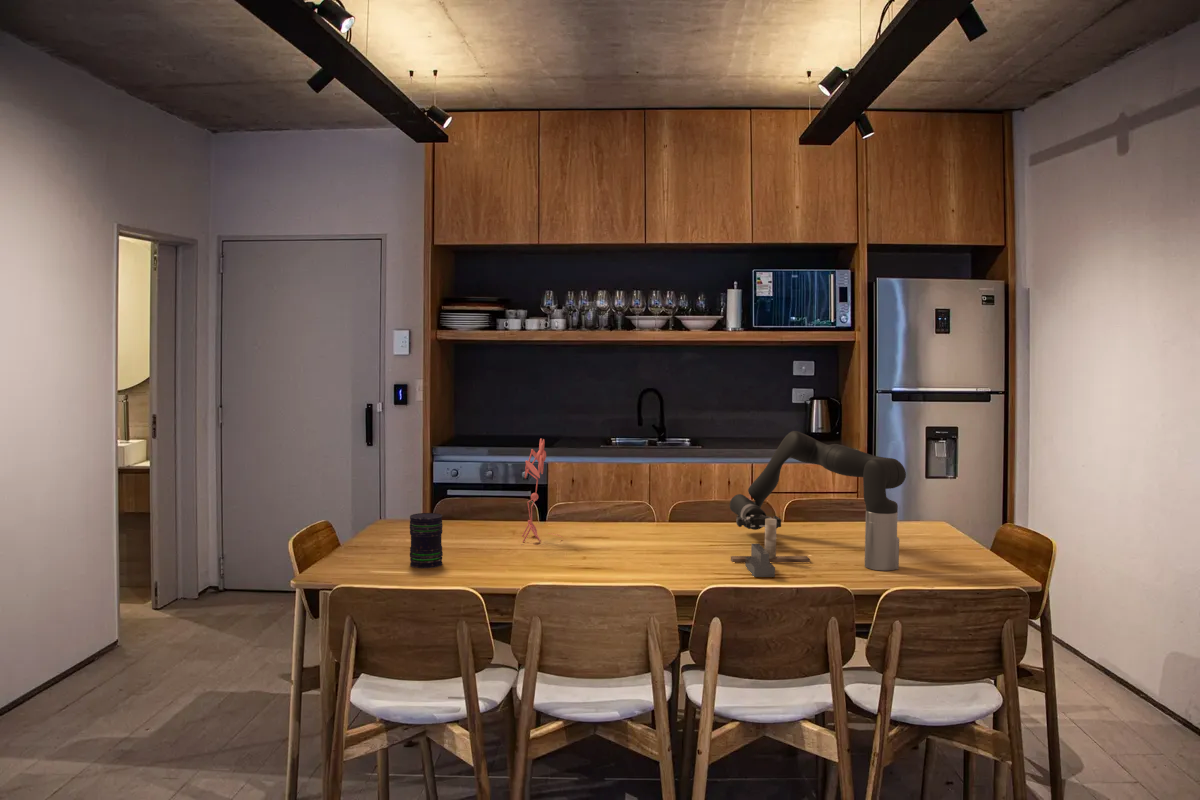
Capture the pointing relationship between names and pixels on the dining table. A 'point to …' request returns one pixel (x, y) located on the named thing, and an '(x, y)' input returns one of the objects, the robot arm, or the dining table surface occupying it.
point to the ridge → (759, 562)
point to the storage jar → (426, 540)
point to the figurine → (540, 458)
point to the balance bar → (772, 546)
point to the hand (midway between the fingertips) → (762, 526)
